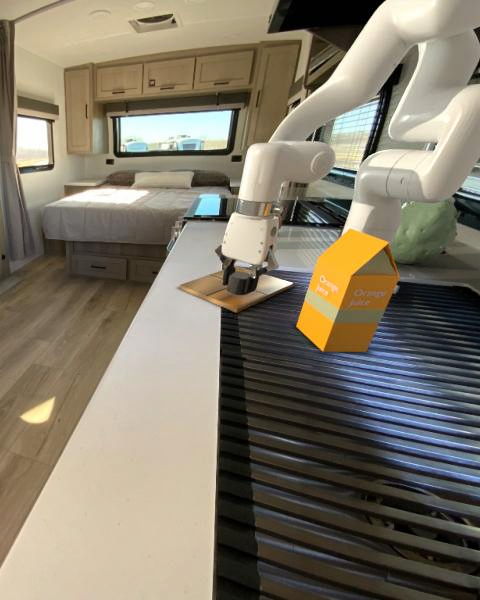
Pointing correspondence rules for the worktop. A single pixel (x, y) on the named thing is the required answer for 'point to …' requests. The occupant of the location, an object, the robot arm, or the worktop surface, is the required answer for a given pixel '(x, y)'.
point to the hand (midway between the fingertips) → (238, 287)
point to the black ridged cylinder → (237, 282)
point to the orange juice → (348, 293)
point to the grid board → (218, 294)
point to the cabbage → (424, 231)
